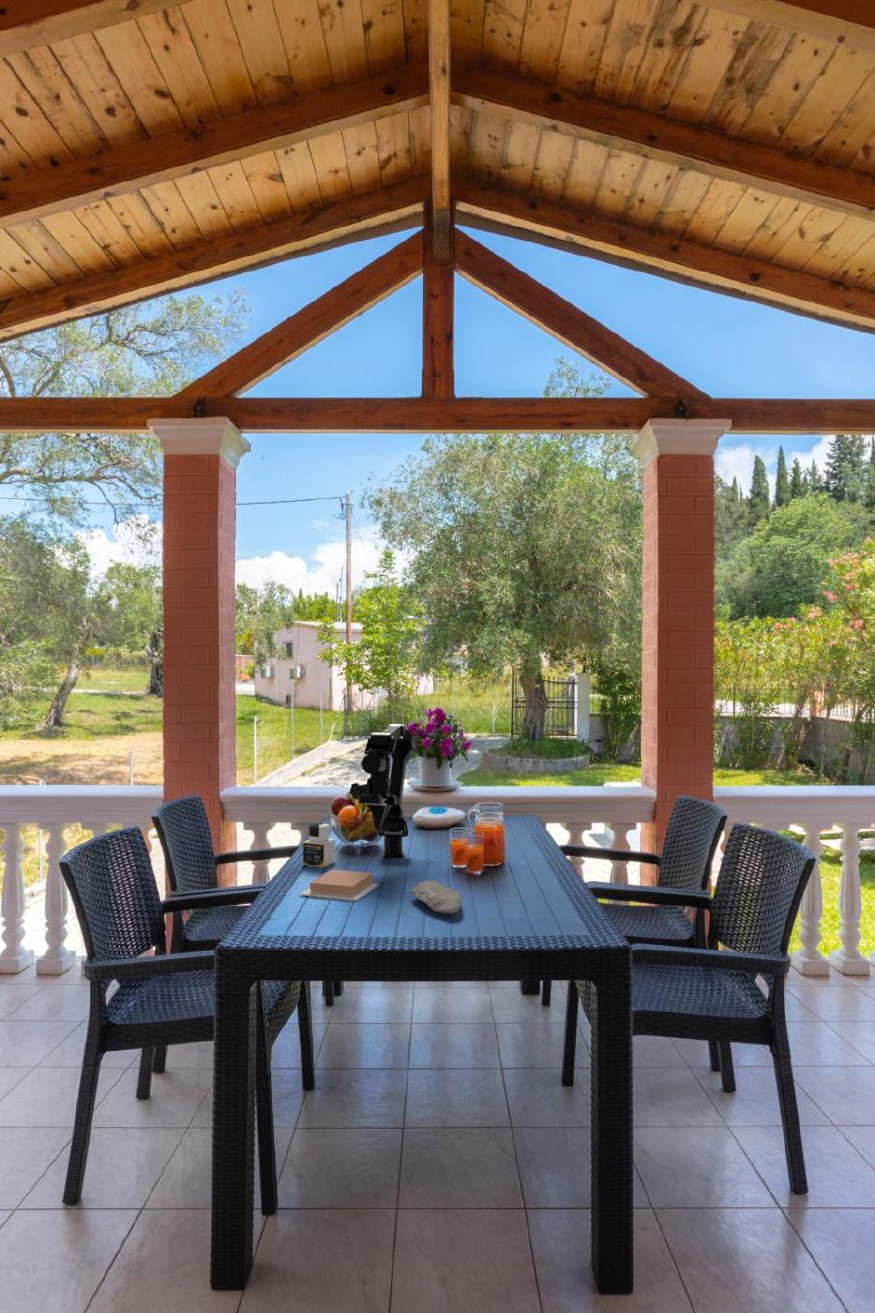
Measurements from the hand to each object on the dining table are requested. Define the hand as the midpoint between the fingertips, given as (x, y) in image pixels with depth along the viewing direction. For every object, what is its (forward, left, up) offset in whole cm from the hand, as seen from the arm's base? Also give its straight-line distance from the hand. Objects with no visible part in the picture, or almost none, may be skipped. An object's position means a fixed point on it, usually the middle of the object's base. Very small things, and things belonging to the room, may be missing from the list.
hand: (377, 829), depth 240 cm
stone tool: (+37, +12, -12) cm, 41 cm away
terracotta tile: (+13, -8, -10) cm, 18 cm away
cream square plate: (+21, -12, -12) cm, 27 cm away
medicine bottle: (-9, -17, -12) cm, 23 cm away
